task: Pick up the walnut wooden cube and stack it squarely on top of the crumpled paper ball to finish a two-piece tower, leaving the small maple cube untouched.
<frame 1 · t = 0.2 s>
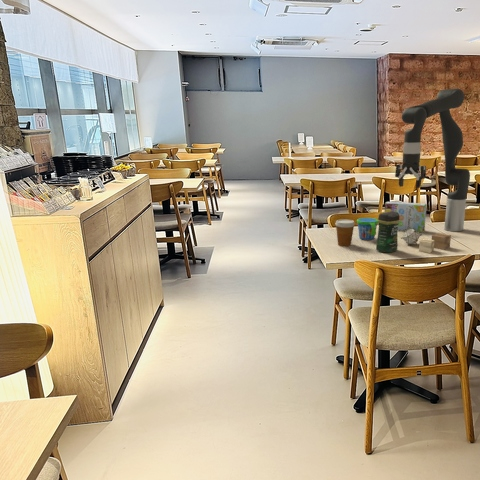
hand: (409, 187, 205), 28 cm above the table, tool pointing down, fingers open, 8 cm apart
snack cup: (366, 239, 226), on the table
snack box: (403, 230, 242), on the table
coffee jar: (386, 250, 205), on the table
maple block: (426, 250, 202), on the table
disposable coffee cup: (344, 245, 217), on the table
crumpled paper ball: (410, 244, 213), on the table
walnut block: (440, 247, 207), on the table
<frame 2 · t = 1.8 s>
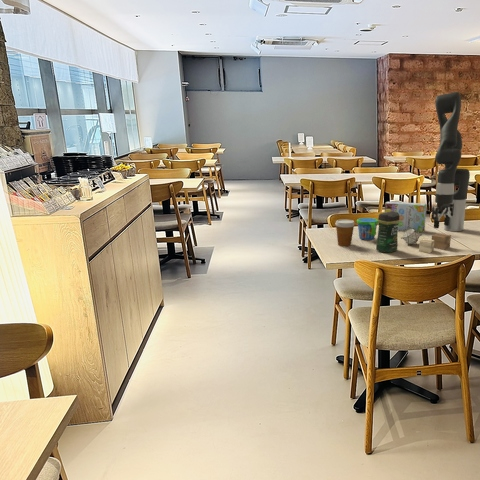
hand: (441, 226, 204), 10 cm above the table, tool pointing down, fingers open, 8 cm apart
nothing on the table moved.
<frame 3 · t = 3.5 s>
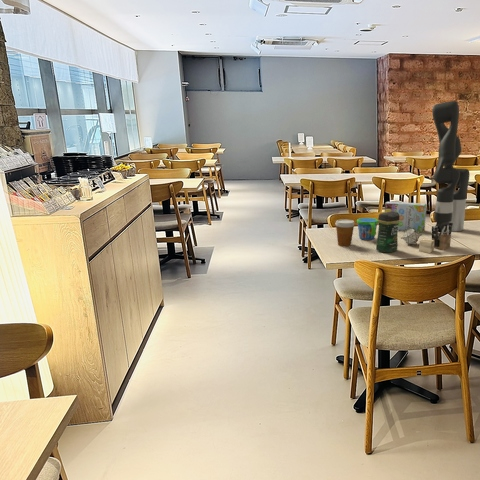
hand: (440, 245, 206), 1 cm above the table, tool pointing down, fingers closed on walnut block, 6 cm apart
walnut block: (440, 247, 207), on the table, touching gripper
everything else where it was.
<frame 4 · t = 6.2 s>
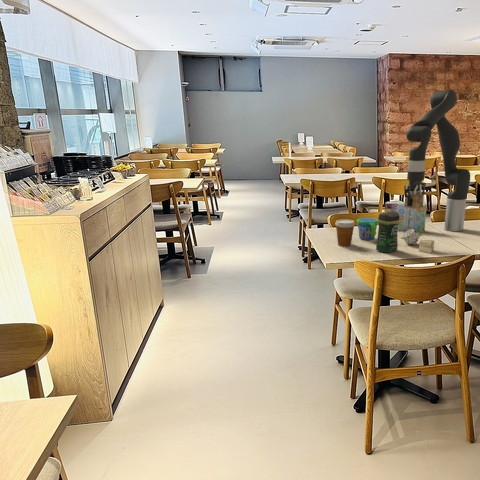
hand: (413, 205, 208), 20 cm above the table, tool pointing down, fingers closed on walnut block, 6 cm apart
walnut block: (413, 207, 208), point 19 cm above the table, touching gripper
everything else where it was.
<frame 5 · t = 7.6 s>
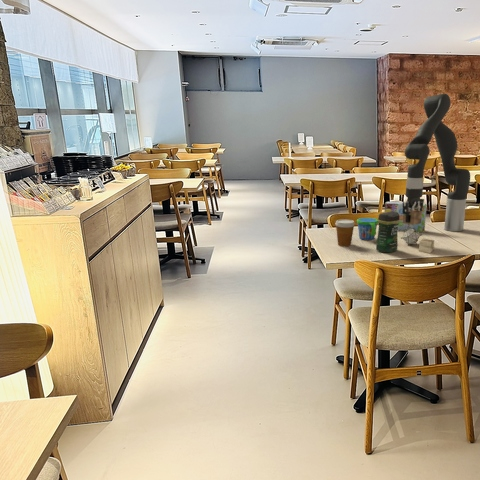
hand: (411, 221, 210), 12 cm above the table, tool pointing down, fingers closed on walnut block, 6 cm apart
walnut block: (411, 223, 210), point 11 cm above the table, touching gripper
everything else where it was.
when the fingers open (10 cm above the table, at t = 8.9 s): walnut block drops 1 cm, resting on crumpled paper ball.
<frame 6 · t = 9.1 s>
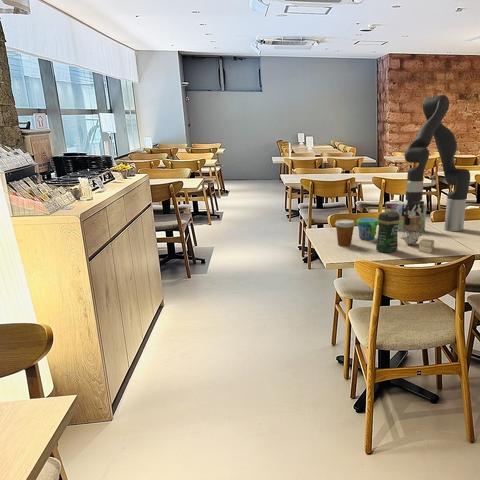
hand: (412, 223, 210), 10 cm above the table, tool pointing down, fingers open, 7 cm apart
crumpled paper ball: (410, 244, 213), on the table, touching walnut block
walnut block: (412, 228, 211), point 8 cm above the table, touching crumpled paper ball
everything else where it was.
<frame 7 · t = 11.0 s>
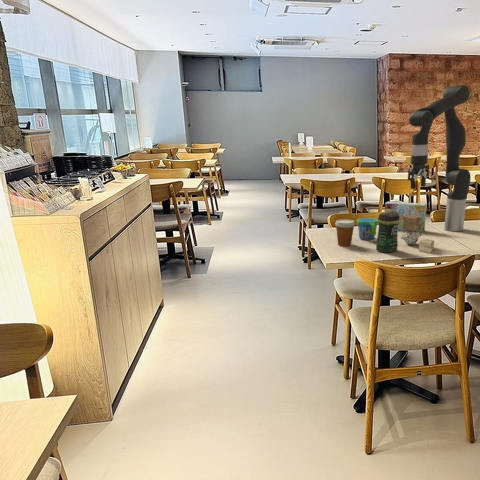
hand: (418, 187, 213), 27 cm above the table, tool pointing down, fingers open, 8 cm apart
nothing on the table moved.
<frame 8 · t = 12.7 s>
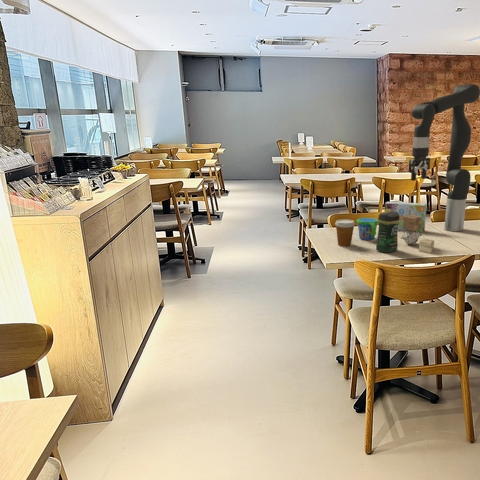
hand: (418, 179, 216), 30 cm above the table, tool pointing down, fingers open, 8 cm apart
nothing on the table moved.
at the end: walnut block 0.2 cm from the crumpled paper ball (horizontally); walnut block point 7.9 cm above the table; walnut block touching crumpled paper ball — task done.
